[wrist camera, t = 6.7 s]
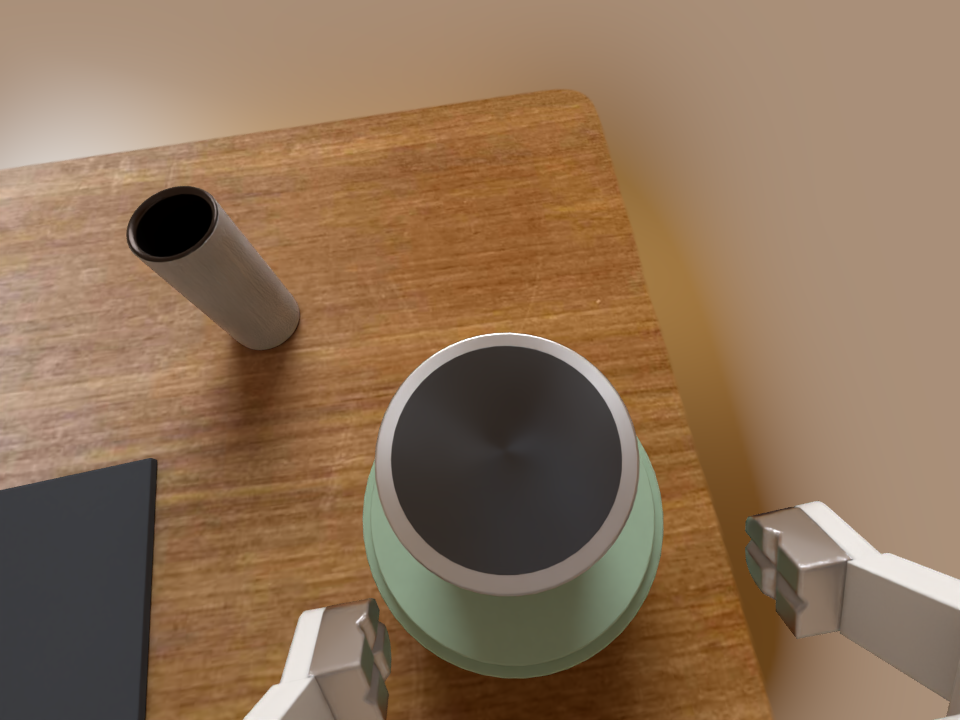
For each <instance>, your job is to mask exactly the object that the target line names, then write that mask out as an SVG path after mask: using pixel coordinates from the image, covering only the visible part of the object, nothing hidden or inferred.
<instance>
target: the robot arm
mask: <svg viewBox="0 0 960 720" xmlns="http://www.w3.org/2000/svg"><path fill="white" fill-rule="evenodd" d="M745 531H746V533H747V534H748V535H749V536H750V538H751V541H750V542H749V543H748V545H747V546H746V547H745V551H746V562H747V565H748V568H749V572H750V574H751V576H752V578H753V579H754V582H755V583H756V585H757V586H758V587H759V589H760V590H761V592H762V593H763V594H765V595H767V596H769V597H771V598H773V599H775V600H776V612H777V613H778V615H779V616H780V617H781V619H782V620H783V621H784V623H785V624H786V625H787V626H788V628H789V629H790V631H791V632H792V633H793V634H794V636H795V637H796V638H797V639H799V638H804V637H809V636H815V635H820V634H826V633H831V632H837V631H840V634H842V635H843V636H845V637H847V638H848V639H850V640H851V641H853V642H855V643H856V644H858V645H859V646H861V647H863V648H864V649H866V650H868V651H869V652H871V653H872V654H874V655H876V656H877V657H879V658H880V659H882V660H884V661H885V662H887V663H888V664H890V665H892V666H893V667H895V668H896V669H898V670H900V671H901V672H903V673H904V674H906V675H908V676H909V677H911V678H912V679H914V680H916V681H917V682H919V683H920V684H922V685H924V686H925V687H927V688H928V689H930V690H932V691H933V692H935V693H937V694H938V695H940V696H941V697H943V698H945V699H946V700H948V701H950V703H949V707H948V712H947V716H946V717H944V718H939V719H935V720H960V580H958V579H956V578H953V577H951V576H948V575H945V574H943V573H940V572H938V571H935V570H932V569H930V568H927V567H924V566H922V565H919V564H917V563H914V562H912V561H909V560H906V559H904V558H901V557H898V556H896V555H893V554H891V553H885V554H881V553H879V552H878V551H877V550H876V549H875V548H874V547H873V546H872V545H870V544H869V543H868V542H867V541H866V540H865V539H864V538H863V537H861V536H860V535H859V534H858V533H857V532H856V531H855V530H854V529H852V528H851V527H850V526H849V525H848V524H847V523H846V522H845V521H843V520H842V519H841V518H840V517H839V516H838V515H837V514H836V513H834V512H833V511H832V510H831V509H830V508H829V507H828V506H827V505H825V504H824V503H822V502H819V501H815V502H811V503H806V504H802V505H798V506H794V507H789V508H785V509H780V510H776V511H771V512H767V513H762V514H758V515H754V516H749V517H748V518H747V520H746V530H745ZM378 619H379V608H378V605H377V603H376V601H375V599H373V598H369V599H364V600H359V601H353V602H348V603H343V604H337V605H332V606H327V607H324V608H319V609H314V610H308V611H304V612H303V613H302V615H301V616H300V618H299V620H298V623H297V627H296V630H295V634H294V637H293V640H292V644H291V647H290V651H289V654H288V657H287V661H286V664H285V668H284V671H283V674H282V678H281V681H280V684H276V685H273V686H272V687H271V688H270V689H269V690H268V691H267V692H266V694H265V695H264V696H263V697H262V698H261V699H260V701H259V702H258V703H257V704H256V705H255V706H254V707H253V709H252V710H251V711H250V712H249V713H248V714H247V715H246V717H245V718H244V719H243V720H386V719H387V708H388V697H389V694H388V691H387V689H386V686H385V683H384V682H385V680H386V679H387V677H388V676H389V675H390V673H391V646H390V640H389V635H388V632H387V629H386V626H385V625H384V624H382V623H381V622H379V621H378Z"/></svg>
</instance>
